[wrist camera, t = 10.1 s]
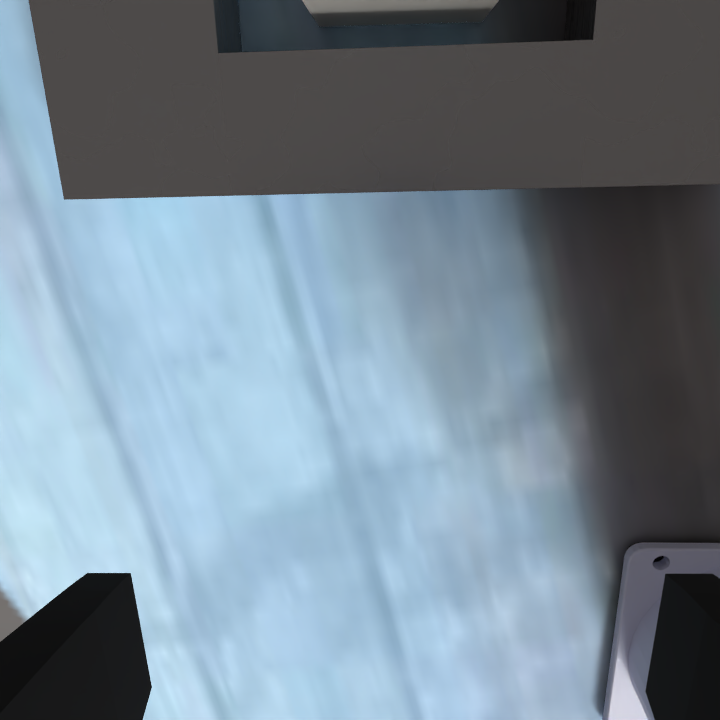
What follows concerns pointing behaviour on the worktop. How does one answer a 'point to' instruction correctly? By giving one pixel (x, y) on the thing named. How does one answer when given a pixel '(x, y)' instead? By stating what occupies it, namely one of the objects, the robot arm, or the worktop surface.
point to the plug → (397, 12)
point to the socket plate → (376, 104)
